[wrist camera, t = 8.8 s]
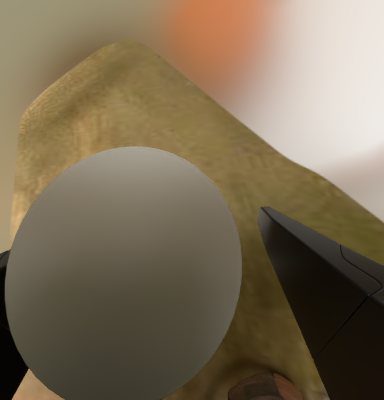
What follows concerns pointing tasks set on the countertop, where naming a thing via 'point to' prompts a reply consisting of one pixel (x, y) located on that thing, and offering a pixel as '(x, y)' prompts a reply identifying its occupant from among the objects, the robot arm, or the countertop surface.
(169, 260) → the beige cylinder grey cap
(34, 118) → the countertop surface
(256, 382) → the pottery mug
